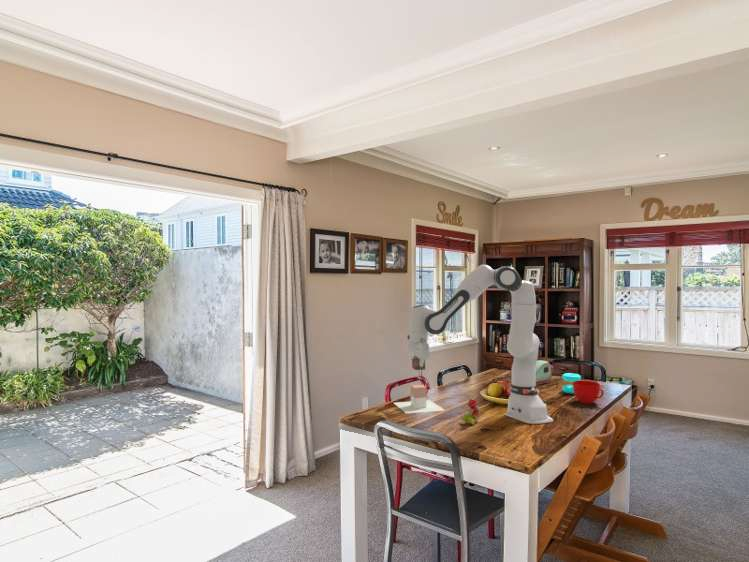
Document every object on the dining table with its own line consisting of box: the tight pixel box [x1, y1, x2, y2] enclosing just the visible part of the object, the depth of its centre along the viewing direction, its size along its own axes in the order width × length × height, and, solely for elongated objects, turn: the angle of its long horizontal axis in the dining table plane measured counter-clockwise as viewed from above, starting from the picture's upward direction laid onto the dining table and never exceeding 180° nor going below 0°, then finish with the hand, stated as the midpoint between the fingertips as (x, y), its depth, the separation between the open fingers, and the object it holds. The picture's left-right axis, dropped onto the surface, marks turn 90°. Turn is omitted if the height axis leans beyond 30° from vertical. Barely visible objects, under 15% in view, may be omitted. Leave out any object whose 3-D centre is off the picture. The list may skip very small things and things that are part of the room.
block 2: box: [410, 395, 427, 408], centre depth 238 cm, size 6×6×5 cm
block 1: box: [410, 384, 427, 399], centre depth 238 cm, size 6×6×5 cm
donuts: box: [561, 372, 582, 395], centre depth 274 cm, size 10×10×10 cm
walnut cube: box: [411, 357, 426, 371], centre depth 238 cm, size 5×5×5 cm
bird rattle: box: [461, 398, 482, 426], centre depth 216 cm, size 6×11×9 cm
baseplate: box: [393, 399, 446, 415], centre depth 238 cm, size 20×20×1 cm
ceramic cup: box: [572, 380, 604, 405], centre depth 250 cm, size 13×17×10 cm
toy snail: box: [536, 359, 554, 386], centre depth 298 cm, size 25×8×14 cm, turn 127°
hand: (418, 365), depth 238 cm, fingers closed on walnut cube, 5 cm apart
